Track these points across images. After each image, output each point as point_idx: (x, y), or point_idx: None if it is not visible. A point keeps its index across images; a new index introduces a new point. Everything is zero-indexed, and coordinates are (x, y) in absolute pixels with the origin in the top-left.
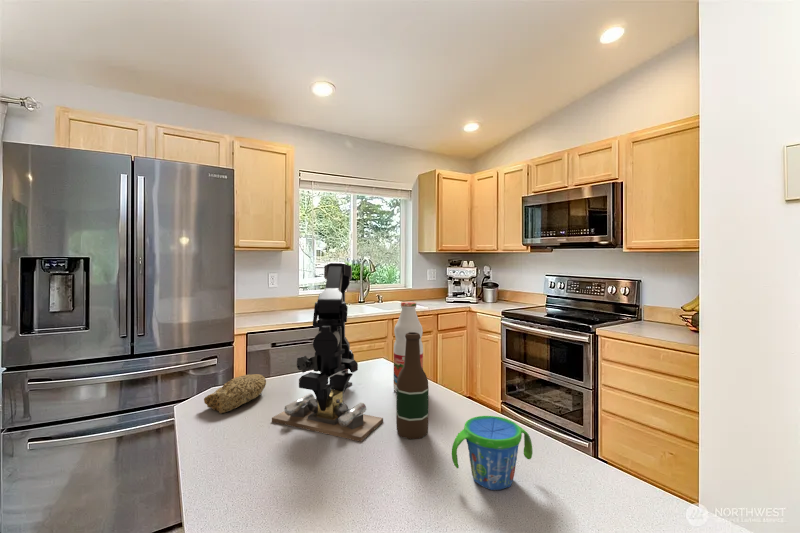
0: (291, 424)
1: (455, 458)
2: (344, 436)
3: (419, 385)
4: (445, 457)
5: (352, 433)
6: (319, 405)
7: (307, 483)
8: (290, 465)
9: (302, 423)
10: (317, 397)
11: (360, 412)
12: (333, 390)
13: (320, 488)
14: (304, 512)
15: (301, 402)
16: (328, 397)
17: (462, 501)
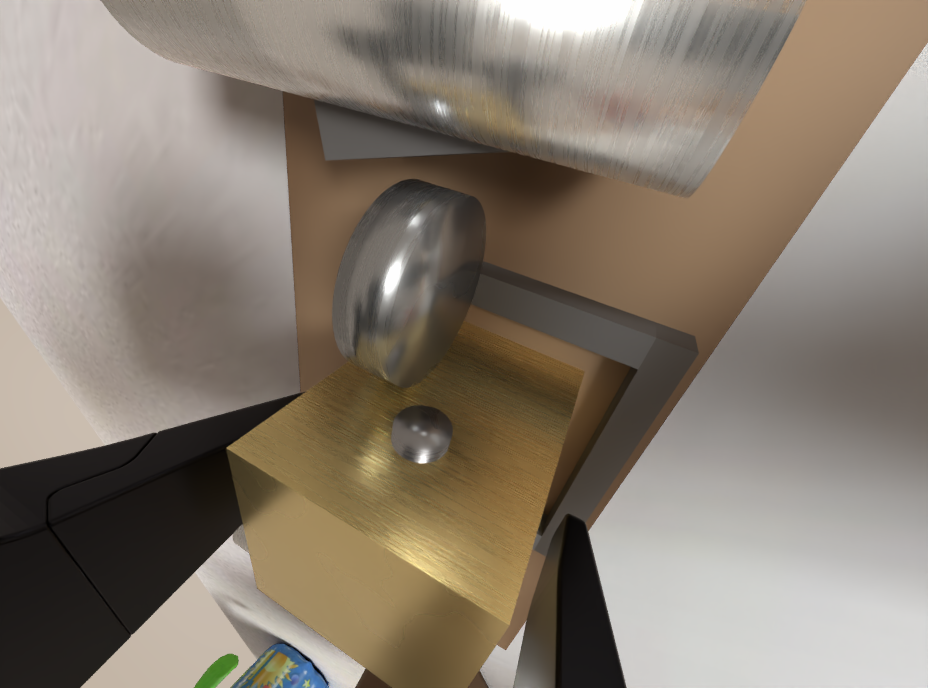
0: None
1: (202, 676)
2: None
3: None
4: (337, 650)
5: None
6: (268, 404)
7: (107, 364)
8: (108, 289)
9: (303, 206)
10: (135, 453)
11: None
12: (444, 661)
13: (119, 397)
14: (70, 376)
15: (313, 78)
16: (191, 559)
17: (237, 602)
